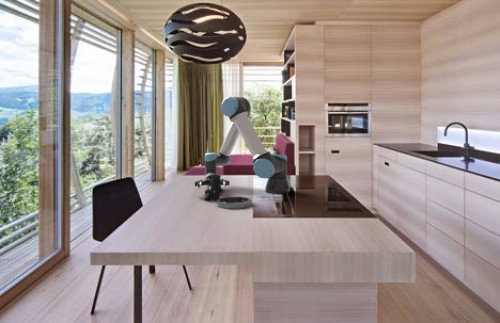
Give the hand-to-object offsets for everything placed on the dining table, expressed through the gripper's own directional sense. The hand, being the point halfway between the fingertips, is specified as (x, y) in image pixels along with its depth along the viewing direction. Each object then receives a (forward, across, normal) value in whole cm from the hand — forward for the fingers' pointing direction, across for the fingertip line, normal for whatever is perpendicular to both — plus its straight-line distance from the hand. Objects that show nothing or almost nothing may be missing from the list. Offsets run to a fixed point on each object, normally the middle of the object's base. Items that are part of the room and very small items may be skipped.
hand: (212, 186), depth 223 cm
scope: (+2, -1, -8) cm, 8 cm away
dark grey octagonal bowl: (+16, -11, -7) cm, 21 cm away
